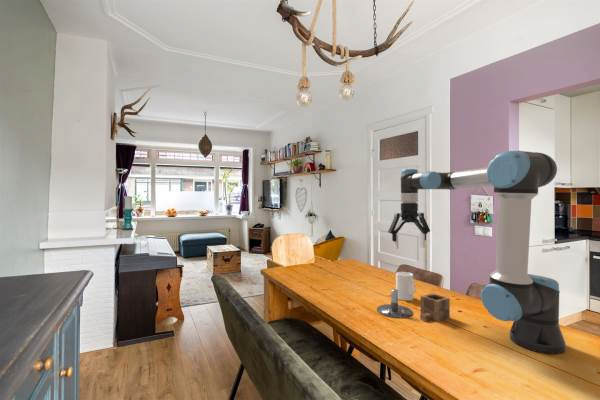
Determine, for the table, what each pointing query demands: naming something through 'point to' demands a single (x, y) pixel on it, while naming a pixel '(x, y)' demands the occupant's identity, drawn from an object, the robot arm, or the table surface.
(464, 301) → the table surface
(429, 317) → the collar
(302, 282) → the table surface
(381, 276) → the table surface
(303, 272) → the table surface
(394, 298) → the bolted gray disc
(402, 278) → the mug
